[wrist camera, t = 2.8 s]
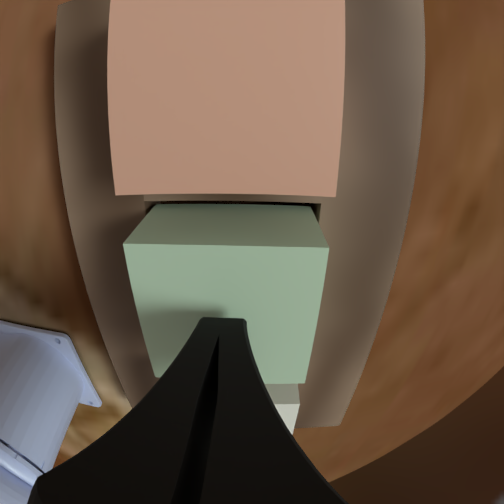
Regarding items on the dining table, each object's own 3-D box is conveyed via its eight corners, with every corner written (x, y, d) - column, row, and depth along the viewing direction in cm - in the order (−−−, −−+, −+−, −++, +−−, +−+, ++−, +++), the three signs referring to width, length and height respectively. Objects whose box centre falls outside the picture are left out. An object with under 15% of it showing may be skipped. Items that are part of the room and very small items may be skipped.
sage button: (172, 322, 15) (155, 377, 12) (155, 204, 12) (122, 243, 9) (296, 326, 15) (304, 383, 11) (310, 206, 12) (329, 247, 9)
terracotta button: (152, 167, 11) (115, 195, 8) (150, 16, 8) (111, -10, 5) (313, 168, 11) (335, 197, 8) (319, 12, 8) (344, -19, 5)
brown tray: (143, 396, 20) (136, 417, 18) (81, 13, 9) (58, 5, 7) (335, 403, 20) (339, 425, 18) (402, 9, 9) (423, -1, 7)
